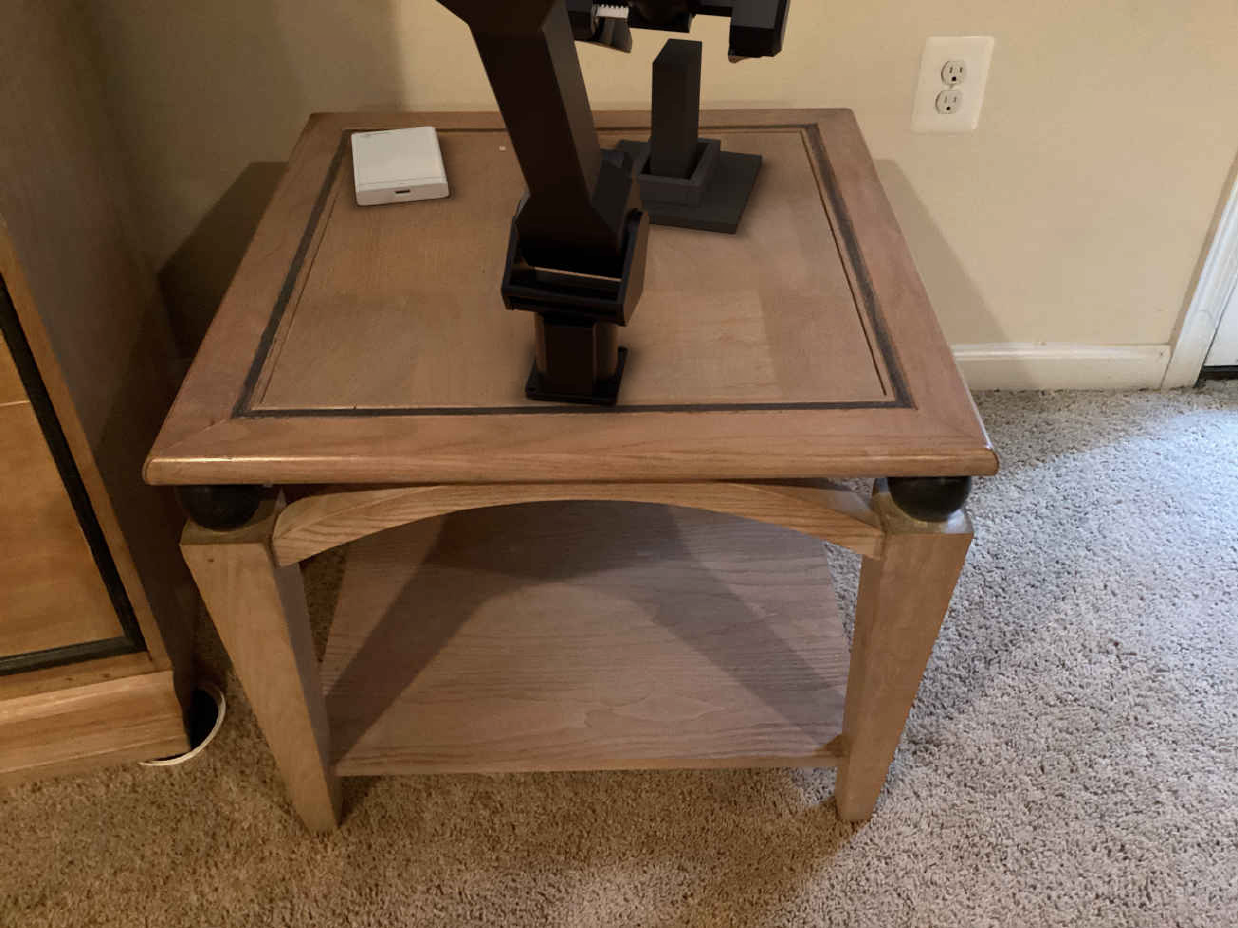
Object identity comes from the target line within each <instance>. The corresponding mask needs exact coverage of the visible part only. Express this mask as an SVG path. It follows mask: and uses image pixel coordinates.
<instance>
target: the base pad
mask: <svg viewBox="0 0 1238 928" xmlns="http://www.w3.org/2000/svg"><path fill="white" fill-rule="evenodd" d="M721 148H722V140H721V139H717V138H708V137H699V136H698V144H697V165H696V168H695V170H694V172H693V174H692V176H691V178H690V180H686V179H678V178H670V177H661V176H653V175H650V160H651V135H650V136H649V137H648V139H647V141H638V140H630V139H622V138H621V139H619V141H618V142H617V144H616V145H615V147H614V149H613V150H619V151H627V152H628V153H629V155H630V156H631V157H632V159H633V160H634V164H635V173H636V179H637V182H638V184H639V185H640V192H639V196H640V199H641V203H642V210H646V211H648V214H649V224H655V225H661V226H662V225H663V226H670V227H678V228H685V229H693V230H701V231H709V232H715V233H725V234H733V235H734V234H736V232H737V229H738V226H739V224H740V221H741V219H742V216H743V214H744V211H745V209H746V206H747V203H748V201H749V198H750V196H751V193H752V190H753V188H754V185H755V183H756V181H757V177H758V175H759V173H760V170H761V167H762V164H763V154H752V153H744V152H736V151H727V150H721Z"/></svg>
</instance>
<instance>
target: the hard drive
mask: <svg viewBox="0 0 1238 928" xmlns="http://www.w3.org/2000/svg"><path fill="white" fill-rule="evenodd" d="M350 138H351V139H350V140H351V151H352V161H353V174H354V175H353V176H354V177H353V178H354V187H355V195H356V202H357V205H359V206H373V205H385V204H394V203H395V204H396V203H403V202H413V201H414V202H415V201H423V200H424V201H425V200H435V199H443V198H446V197H448V196H449V195H450V192H449V183H448V179H447V175H446V171H445V165H444V161H443V156H442V152H441V147H440V144H439V143H440V142H439V139H438V134H437V130H436V128H435V127H434V126H430V125H428V126H417V127H406V128H396V129H387V130H377V131H364V132H356V133H353V134H351V137H350Z"/></svg>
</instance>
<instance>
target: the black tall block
mask: <svg viewBox="0 0 1238 928" xmlns="http://www.w3.org/2000/svg"><path fill="white" fill-rule="evenodd" d="M702 61H703V41H702V40H693V39H684V38H671V37H669V38H668V39H667V40H666V42H665V43H664V44H663V46H662V48H661V49H660V51H659V52H658V53H657V55H656V56H655V58H654V59H653V60H652V63H651V64H652V65H651V108H650V109H651V110H650V112H651V113H650V115H651V116H650V136H651V160H650V175H653V176H661V177H670V178H678V179H686V180H690V178H691V176H692V174H693V172H694V170H695V168H696V165H697V144H698V137H699V121H700V119H699V118H700V102H701V100H700V99H701V83H702V82H701V81H702V80H701V79H702Z"/></svg>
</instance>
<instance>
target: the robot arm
mask: <svg viewBox="0 0 1238 928" xmlns="http://www.w3.org/2000/svg"><path fill="white" fill-rule="evenodd" d="M435 1H436V2H437V3H438V4H440V6H443V8H445V9H446V10H448V11H449V12H450V13H452V14H453V15H454V16H456V18H458V19H460V20H461V21H462V22H464V23H465V24H466V25H467V26H468V28H469V30H470V34H471V36H472V39H473V42H474V44H475V48H476V50H477V52H478V54H479V55H478V56H479V59H480V61H481V63H482V65H483V69H484V72H485V75H486V77H487V80H488V83H489V86H490V88H491V91H492V94H493V97H494V99H495V102H496V105H497V108H498V110H499V113H500V116H501V119H502V121H503V124H504V127H505V130H506V132H507V135H508V138H509V140H510V141H509V142H510V143H511V147H512V149H513V151H514V154H515V157H516V160H517V162H518V165H519V168H520V171H521V174H522V176H523V177H522V178H523V179H524V182H525V186H524V190H523V193H522V196H521V198H520V200H519V202H518V204H517V207H516V211H515V214H514V215H513V216H512V218H511V223H510V229H509V236H508V244H507V250H506V255H505V256H506V257H505V265H504V271H503V276H502V281H501V285H500V295H501V299H502V302H503V305H504V308H505V310H508V311H515V310H517V311H523V312H530V313H533V324H534V325H533V327H534V339H535V353H536V354H535V357H534V361H533V364H532V365H531V369H530V372H529V375H528V378H527V381H526V384H525V387H524V395H525V397H526V398H528V399H535V400H549V401H560V402H571V403H572V402H573V403H584V404H585V403H586V404H597V405H598V404H599V405H609V406H611V405H616V404H617V403H618V402H619V397H620V393H621V388H622V383H623V379H624V375H625V370H626V365H627V361H628V356H629V348H628V347H626V346H622V345H618V343H619V341H618V340H619V339H618V338H619V337H618V336H619V335H618V333H619V332H618V327H623V328H627V326H628V324H629V322H630V320H631V319H632V316H633V314H634V313H635V311H636V308H637V307H638V304H639V302H640V299H641V298H642V296H643V293H644V286H645V276H646V266H647V265H646V264H647V256H648V245H649V235H650V223H649V214H648V211H646V210H642V203H641V199H640V196H639V192H640V185H639V184H638V182H637V179H636V173H635V164H634V160H633V159H632V157H631V156H630V155H629V153H628V152H627V151H619V150H614V149H609V148H601V146H600V142H599V138H598V134H597V130H596V125H595V121H594V117H593V113H592V108H591V105H590V100H589V96H588V93H587V88H586V83H585V79H584V76H583V72H582V68H581V67H582V66H581V63H580V59H579V54H578V50H577V46H576V43H575V42H579V43H580V42H581V43H584V44H587V45H588V44H589V45H593V46H597V47H601V48H606V49H609V50H612V51H616V52H620V53H624V54H631V53H632V48H633V45H634V44H633V36H632V33H631V29H635V30H647V31H656V32H670V33H681V34H691V33H690V32H691V27H692V21H693V19H695V18H696V16H698V15H699V16H709V17H722V18H730V21H729V29H728V30H729V31H728V48H727V49H728V50H727V59H728V62H729V63H730V64H735V65H736V64H737V63H740V62H742V61H744V60H749V59H761V58H764V57H766V58H775V57H776V56H777V55H778V54H780V53H782V50H783V45H784V40H785V35H786V29H787V24H788V18H789V13H790V7H791V2H792V0H435ZM536 268H539V269H536ZM543 269H547V270H543ZM548 270H549V271H548ZM550 270H553V271H550ZM556 271H560V272H556ZM564 272H567V273H564ZM571 273H573V274H571ZM574 273H575V274H574ZM578 274H582V275H578ZM585 275H587V276H585ZM589 275H590V276H589ZM591 276H595V277H591ZM599 277H602V278H599ZM604 278H605V279H604ZM607 278H609V279H607ZM610 278H611V279H610ZM613 279H617V280H613Z"/></svg>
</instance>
